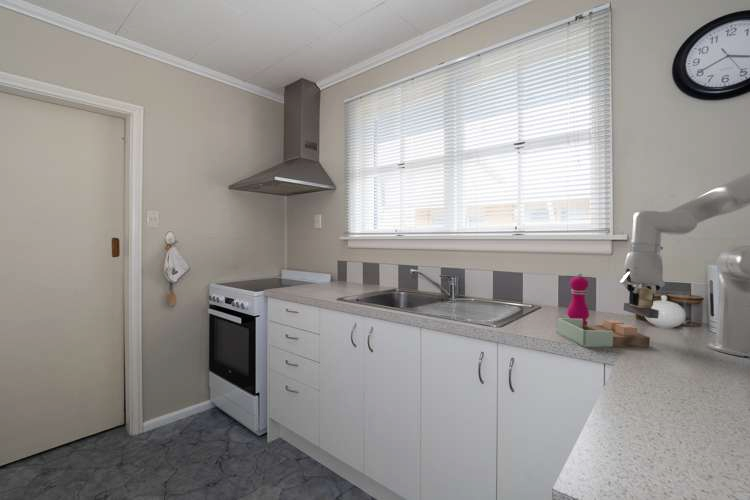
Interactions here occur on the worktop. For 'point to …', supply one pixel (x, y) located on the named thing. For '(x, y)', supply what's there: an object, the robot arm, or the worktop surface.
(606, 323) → the tile
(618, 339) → the board
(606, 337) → the tray
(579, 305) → the pepper mill
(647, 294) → the scraper
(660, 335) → the worktop surface
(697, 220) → the robot arm
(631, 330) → the tile
